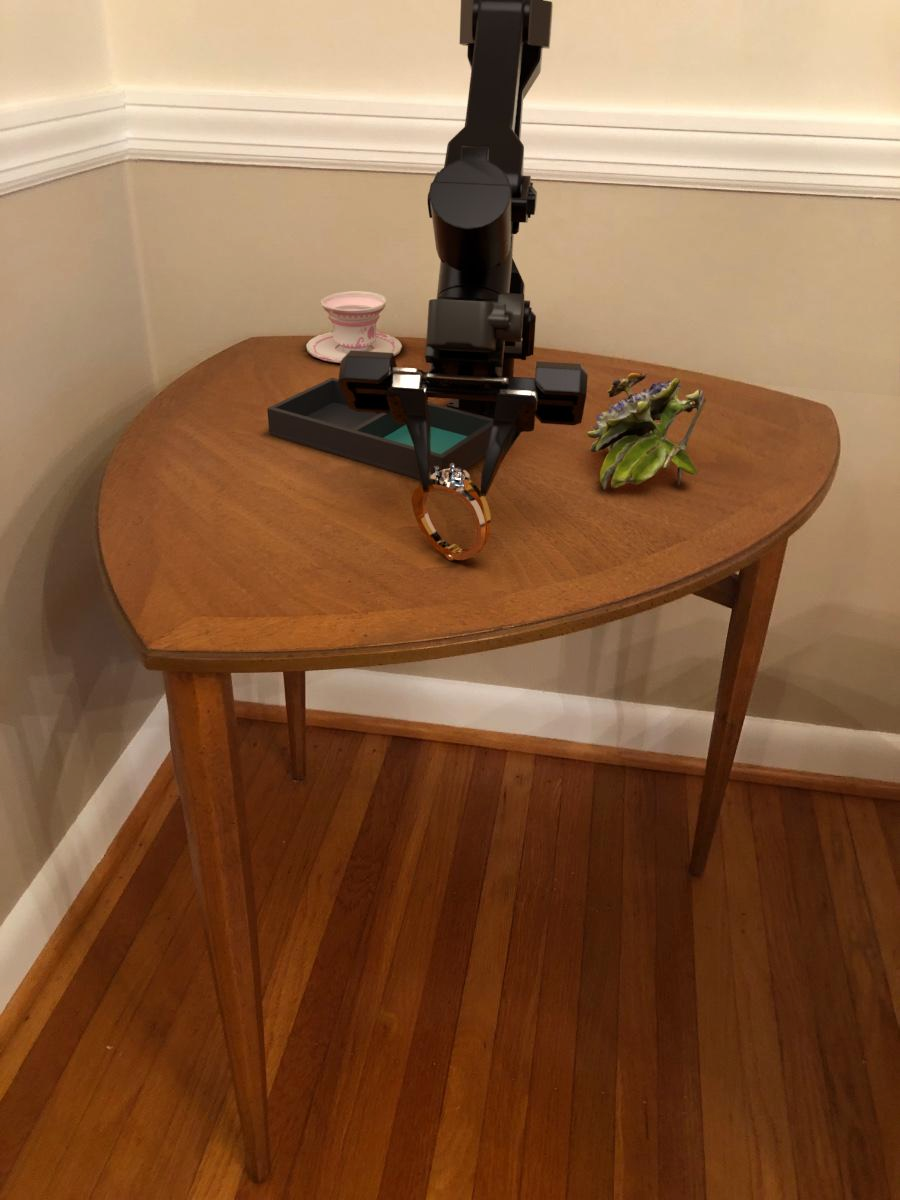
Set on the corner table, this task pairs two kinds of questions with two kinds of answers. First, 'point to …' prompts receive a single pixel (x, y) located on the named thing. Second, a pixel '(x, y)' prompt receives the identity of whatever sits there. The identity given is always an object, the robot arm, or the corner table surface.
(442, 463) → the tray
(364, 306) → the teacup
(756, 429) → the corner table surface
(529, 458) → the corner table surface
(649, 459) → the passion flower
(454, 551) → the ring
